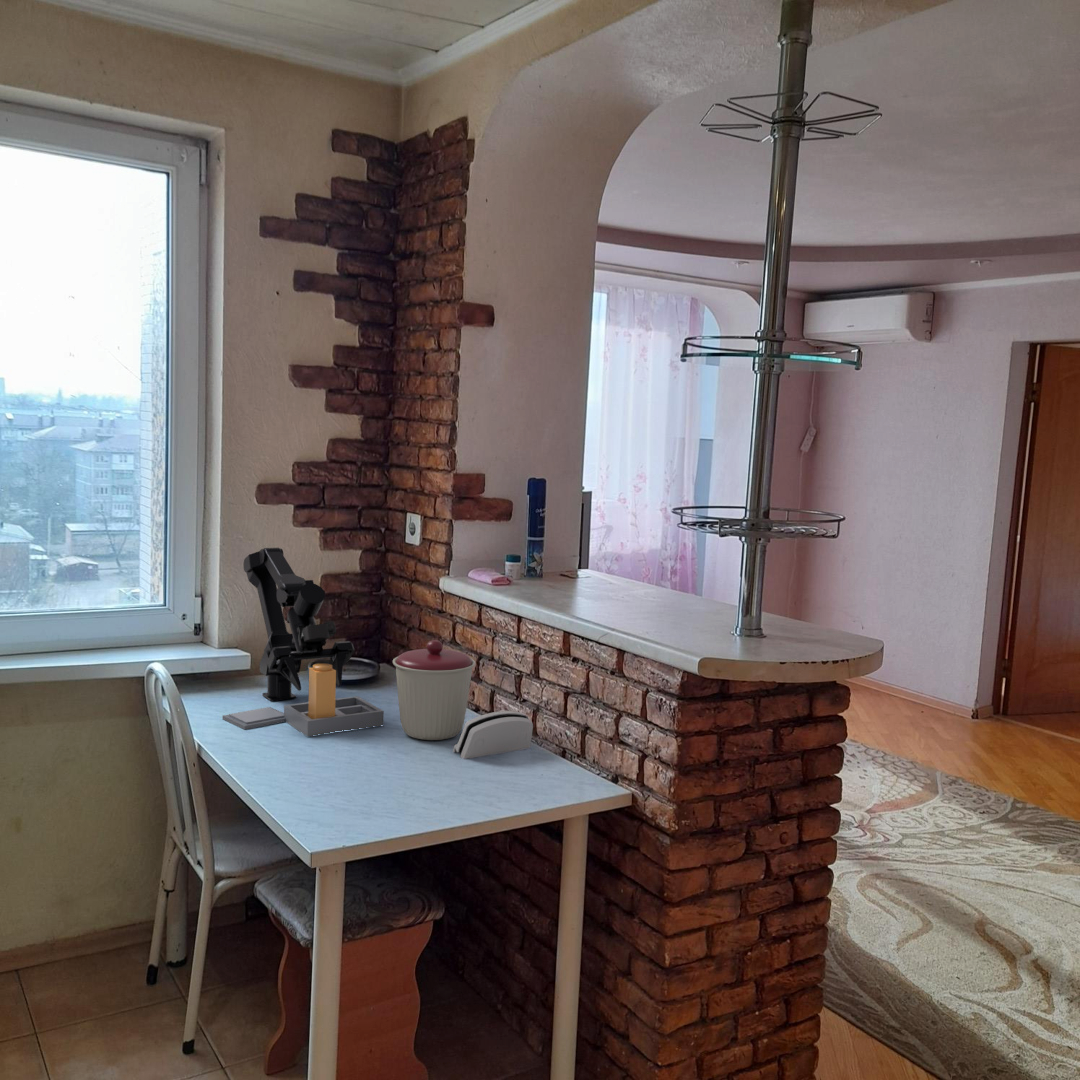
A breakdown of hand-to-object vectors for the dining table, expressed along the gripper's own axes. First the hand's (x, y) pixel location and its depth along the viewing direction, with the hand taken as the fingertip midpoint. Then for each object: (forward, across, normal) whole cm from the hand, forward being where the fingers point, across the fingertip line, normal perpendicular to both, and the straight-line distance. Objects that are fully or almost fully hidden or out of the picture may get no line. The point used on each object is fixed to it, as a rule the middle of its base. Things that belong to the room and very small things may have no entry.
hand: (320, 687), depth 229 cm
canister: (+17, +20, -4) cm, 27 cm away
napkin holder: (+29, +27, -16) cm, 43 cm away
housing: (+5, +4, +7) cm, 10 cm away
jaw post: (+7, 0, +5) cm, 8 cm away
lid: (-1, -10, +14) cm, 18 cm away
